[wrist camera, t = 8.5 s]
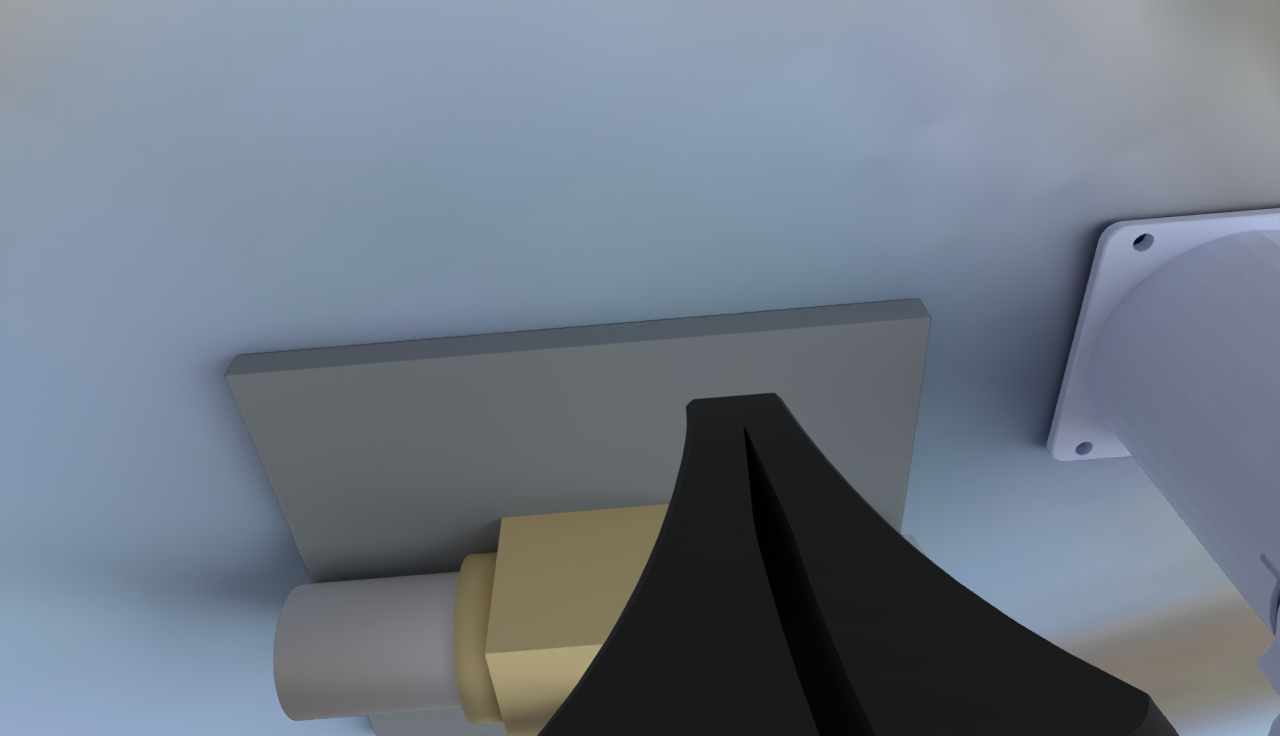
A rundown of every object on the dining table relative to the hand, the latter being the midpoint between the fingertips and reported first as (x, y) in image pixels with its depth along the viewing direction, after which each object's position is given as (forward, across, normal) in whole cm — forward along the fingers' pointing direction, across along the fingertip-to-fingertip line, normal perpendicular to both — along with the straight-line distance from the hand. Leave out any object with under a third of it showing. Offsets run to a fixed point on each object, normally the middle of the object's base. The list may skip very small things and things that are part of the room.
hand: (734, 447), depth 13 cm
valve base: (+10, +3, +13) cm, 17 cm away
